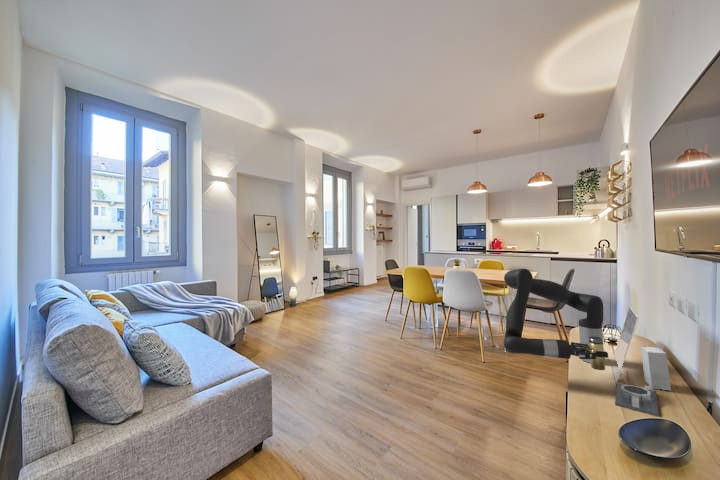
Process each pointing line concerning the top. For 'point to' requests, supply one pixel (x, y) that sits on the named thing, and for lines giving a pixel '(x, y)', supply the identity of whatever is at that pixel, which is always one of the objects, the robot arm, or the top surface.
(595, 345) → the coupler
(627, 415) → the top surface
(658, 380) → the skincare box
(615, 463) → the top surface
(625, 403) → the socket base
